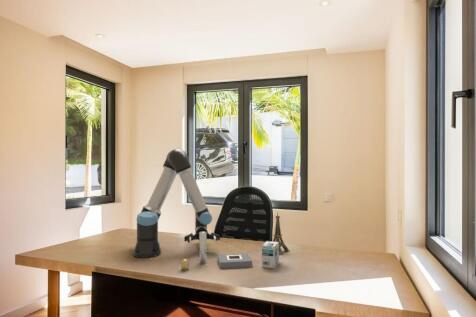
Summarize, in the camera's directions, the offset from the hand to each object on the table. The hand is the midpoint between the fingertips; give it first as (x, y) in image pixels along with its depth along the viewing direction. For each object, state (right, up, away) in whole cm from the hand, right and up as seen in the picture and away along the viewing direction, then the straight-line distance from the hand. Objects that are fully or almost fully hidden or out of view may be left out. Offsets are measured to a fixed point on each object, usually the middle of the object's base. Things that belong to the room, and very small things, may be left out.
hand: (202, 241), depth 173 cm
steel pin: (+1, -9, -9) cm, 13 cm away
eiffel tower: (+43, -9, +12) cm, 45 cm away
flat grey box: (+17, -9, -10) cm, 22 cm away
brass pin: (-6, -9, -20) cm, 22 cm away
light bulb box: (+36, -9, -13) cm, 39 cm away
